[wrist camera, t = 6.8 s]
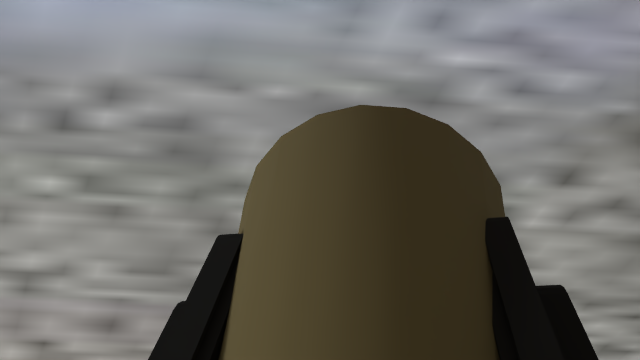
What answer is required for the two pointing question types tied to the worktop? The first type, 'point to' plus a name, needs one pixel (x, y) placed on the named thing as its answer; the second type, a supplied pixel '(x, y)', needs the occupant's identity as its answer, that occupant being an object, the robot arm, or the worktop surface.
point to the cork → (366, 244)
